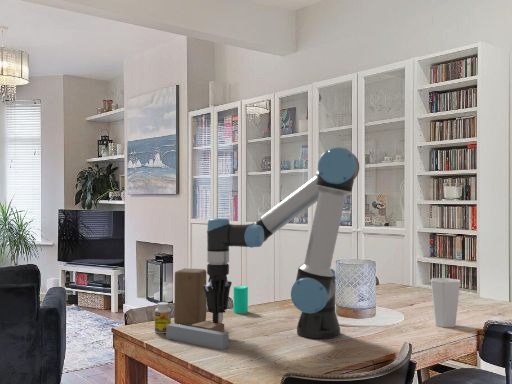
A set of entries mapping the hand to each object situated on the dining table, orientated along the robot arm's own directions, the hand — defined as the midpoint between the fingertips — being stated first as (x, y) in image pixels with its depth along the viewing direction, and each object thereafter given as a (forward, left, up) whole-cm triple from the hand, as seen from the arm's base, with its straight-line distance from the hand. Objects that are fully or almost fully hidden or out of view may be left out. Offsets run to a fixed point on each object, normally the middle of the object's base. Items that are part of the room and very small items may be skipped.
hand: (217, 331), depth 188 cm
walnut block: (+1, +5, -2) cm, 5 cm away
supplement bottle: (+19, +7, -2) cm, 20 cm away
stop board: (0, +11, -1) cm, 11 cm away
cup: (-60, -62, -2) cm, 86 cm away
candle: (+17, -37, -2) cm, 41 cm away
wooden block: (+21, -10, -2) cm, 23 cm away
